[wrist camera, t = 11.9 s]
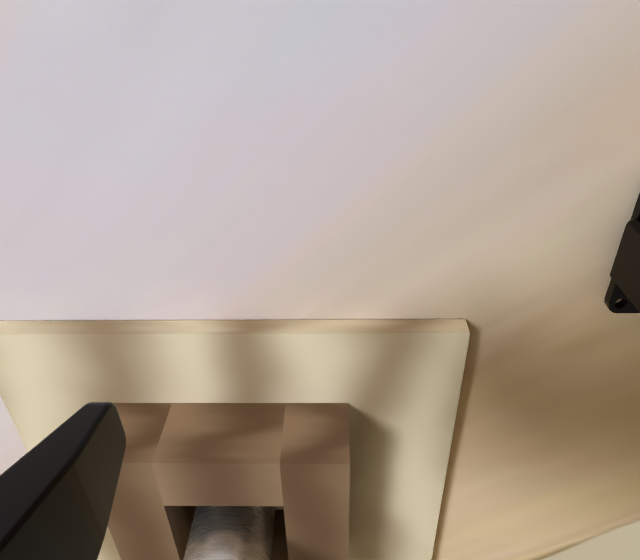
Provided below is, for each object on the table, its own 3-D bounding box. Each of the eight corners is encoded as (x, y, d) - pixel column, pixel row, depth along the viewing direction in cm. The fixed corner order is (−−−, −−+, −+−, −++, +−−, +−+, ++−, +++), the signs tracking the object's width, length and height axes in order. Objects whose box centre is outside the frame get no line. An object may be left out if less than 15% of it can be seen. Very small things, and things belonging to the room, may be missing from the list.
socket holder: (465, 319, 24) (490, 391, 20) (425, 563, 35) (437, 640, 31) (-17, 320, 24) (-80, 391, 21) (93, 560, 35) (64, 635, 32)
